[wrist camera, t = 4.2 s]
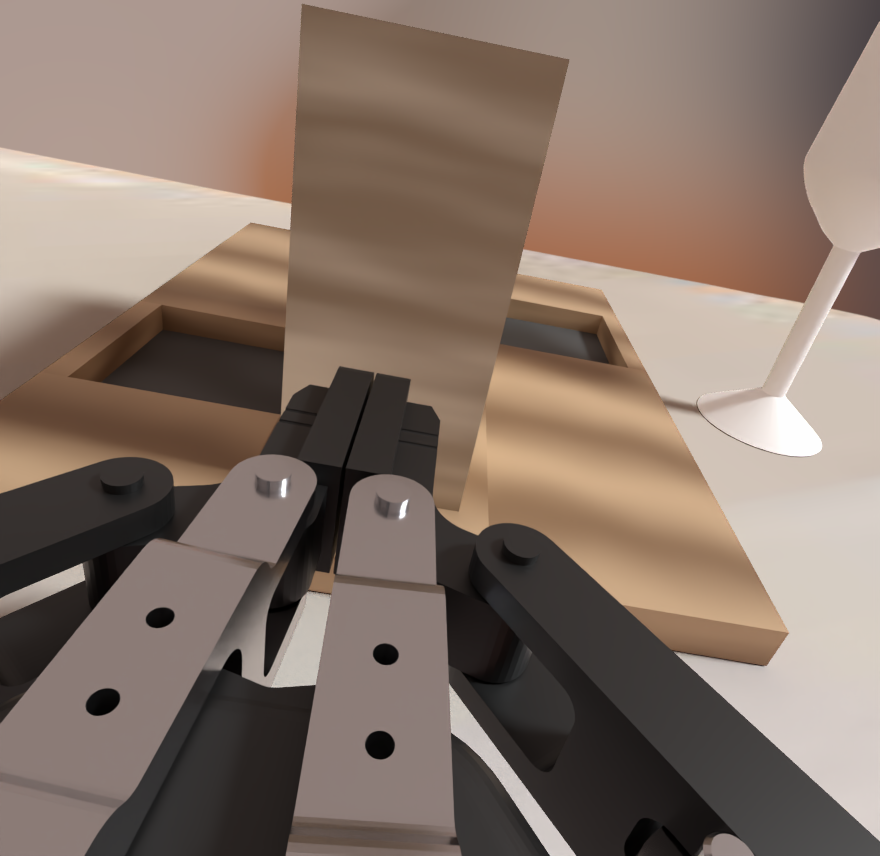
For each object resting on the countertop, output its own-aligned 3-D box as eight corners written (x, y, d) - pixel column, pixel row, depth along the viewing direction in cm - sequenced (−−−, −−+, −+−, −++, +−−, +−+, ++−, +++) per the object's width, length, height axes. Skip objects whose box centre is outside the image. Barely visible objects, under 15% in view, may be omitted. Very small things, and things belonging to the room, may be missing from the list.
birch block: (458, 511, 20) (569, 59, 14) (277, 480, 20) (301, 4, 14) (465, 344, 32) (526, 60, 26) (352, 323, 32) (384, 31, 26)
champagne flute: (699, 431, 32) (989, -198, 20) (693, 381, 38) (916, -132, 26) (835, 471, 31) (1233, -171, 19) (808, 414, 37) (1100, -108, 24)
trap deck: (766, 665, 19) (788, 632, 18) (-99, 522, 18) (-114, 480, 17) (595, 309, 47) (601, 289, 46) (250, 243, 45) (250, 222, 45)
